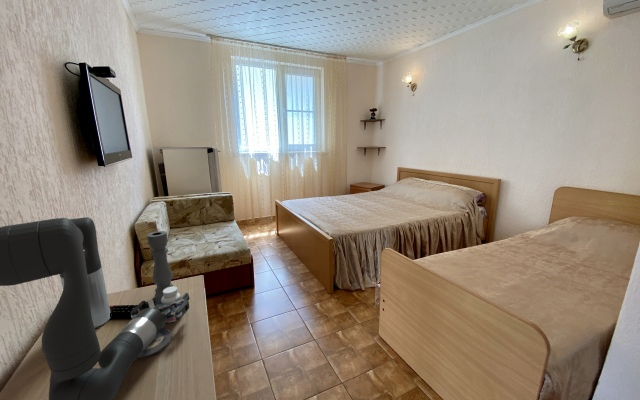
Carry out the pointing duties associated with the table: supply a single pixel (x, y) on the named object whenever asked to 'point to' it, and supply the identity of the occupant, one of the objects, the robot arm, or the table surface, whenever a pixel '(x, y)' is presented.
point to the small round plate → (156, 344)
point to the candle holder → (160, 261)
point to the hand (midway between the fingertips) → (174, 295)
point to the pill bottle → (170, 299)
